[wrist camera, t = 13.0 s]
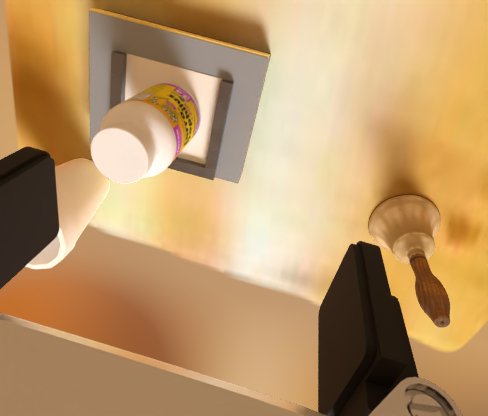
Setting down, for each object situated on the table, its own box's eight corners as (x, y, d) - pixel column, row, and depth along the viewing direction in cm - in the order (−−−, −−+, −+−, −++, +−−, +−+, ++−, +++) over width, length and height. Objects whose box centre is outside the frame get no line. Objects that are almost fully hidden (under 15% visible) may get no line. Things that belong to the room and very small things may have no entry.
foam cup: (55, 198, 51) (-16, 254, 40) (52, 138, 46) (-29, 182, 35) (119, 217, 51) (67, 278, 40) (123, 158, 46) (64, 209, 35)
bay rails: (233, 82, 36) (232, 84, 35) (215, 176, 42) (213, 180, 41) (116, 50, 36) (111, 51, 36) (112, 148, 42) (108, 151, 41)
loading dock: (271, 52, 37) (268, 56, 35) (241, 172, 44) (237, 183, 42) (104, 7, 37) (88, 8, 35) (102, 135, 45) (89, 143, 42)
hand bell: (394, 261, 48) (429, 366, 34) (354, 220, 46) (375, 315, 32) (453, 226, 44) (520, 329, 30) (413, 181, 42) (465, 269, 28)
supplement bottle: (210, 136, 39) (172, 189, 28) (155, 147, 41) (100, 201, 30) (190, 73, 36) (140, 105, 25) (133, 88, 38) (62, 124, 27)
